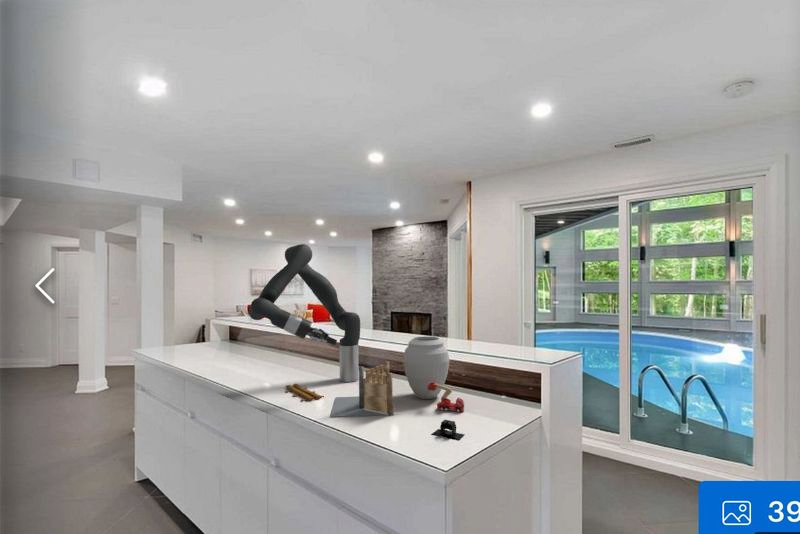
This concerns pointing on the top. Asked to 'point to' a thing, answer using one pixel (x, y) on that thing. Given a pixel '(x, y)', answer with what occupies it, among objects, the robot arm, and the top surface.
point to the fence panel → (377, 370)
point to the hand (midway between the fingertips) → (335, 342)
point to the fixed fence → (376, 392)
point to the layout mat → (352, 408)
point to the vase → (426, 365)
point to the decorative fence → (303, 392)
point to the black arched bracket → (448, 434)
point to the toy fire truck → (445, 401)
